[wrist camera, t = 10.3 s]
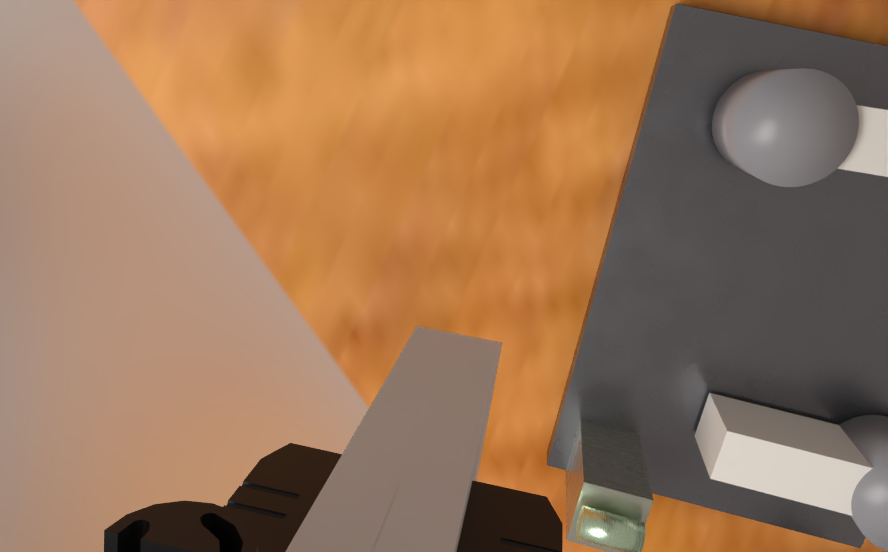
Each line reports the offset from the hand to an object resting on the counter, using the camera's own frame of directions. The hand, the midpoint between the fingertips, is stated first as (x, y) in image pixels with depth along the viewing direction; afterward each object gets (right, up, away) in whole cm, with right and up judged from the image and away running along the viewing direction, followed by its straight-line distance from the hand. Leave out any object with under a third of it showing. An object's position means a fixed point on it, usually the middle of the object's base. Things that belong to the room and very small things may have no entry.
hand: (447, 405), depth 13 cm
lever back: (+18, -6, +22) cm, 29 cm away
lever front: (+18, +8, +18) cm, 27 cm away
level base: (+16, +2, +22) cm, 27 cm away
